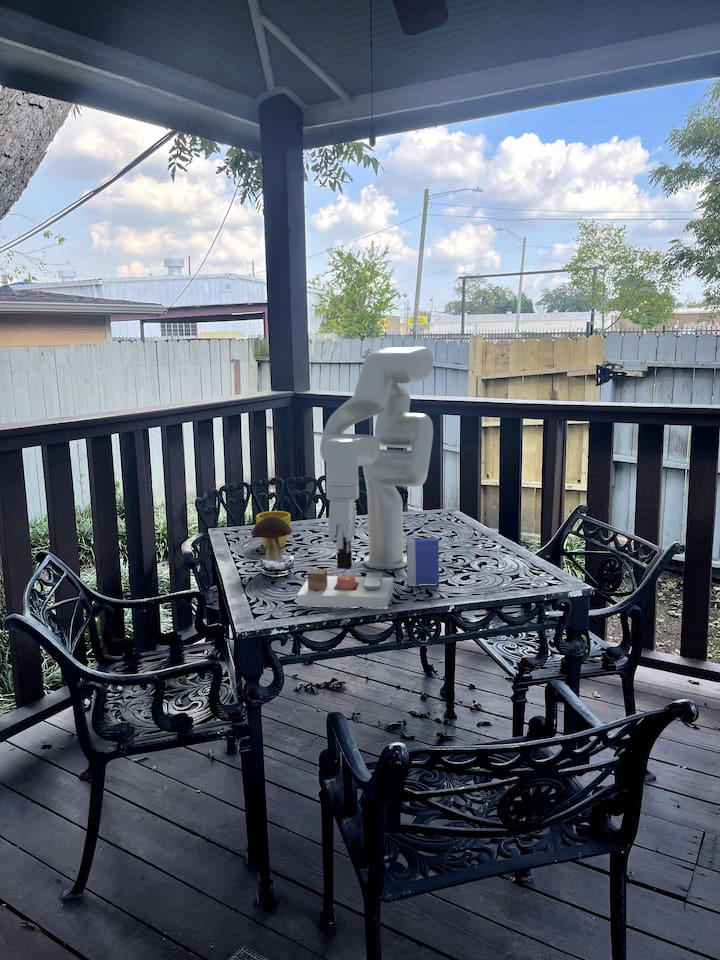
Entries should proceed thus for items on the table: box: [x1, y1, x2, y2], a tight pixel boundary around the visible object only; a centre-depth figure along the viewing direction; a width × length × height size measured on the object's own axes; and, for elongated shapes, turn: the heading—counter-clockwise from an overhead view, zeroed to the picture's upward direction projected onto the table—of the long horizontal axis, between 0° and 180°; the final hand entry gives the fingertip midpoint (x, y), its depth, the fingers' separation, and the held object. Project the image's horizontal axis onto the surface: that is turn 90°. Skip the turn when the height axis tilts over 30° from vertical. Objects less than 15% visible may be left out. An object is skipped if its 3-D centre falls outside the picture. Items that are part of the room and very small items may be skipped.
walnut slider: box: [307, 568, 328, 590], centre depth 155 cm, size 3×4×4 cm
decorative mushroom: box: [251, 516, 293, 561], centre depth 177 cm, size 11×11×15 cm
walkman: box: [405, 535, 440, 585], centre depth 163 cm, size 8×3×12 cm, turn 96°
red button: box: [337, 574, 356, 590], centre depth 156 cm, size 4×4×3 cm
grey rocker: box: [364, 571, 383, 589], centre depth 155 cm, size 6×4×1 cm, turn 171°
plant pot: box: [255, 510, 291, 549], centre depth 200 cm, size 10×10×10 cm
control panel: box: [296, 575, 394, 608], centre depth 156 cm, size 13×21×4 cm, turn 81°
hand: (344, 567), depth 155 cm, fingers closed
